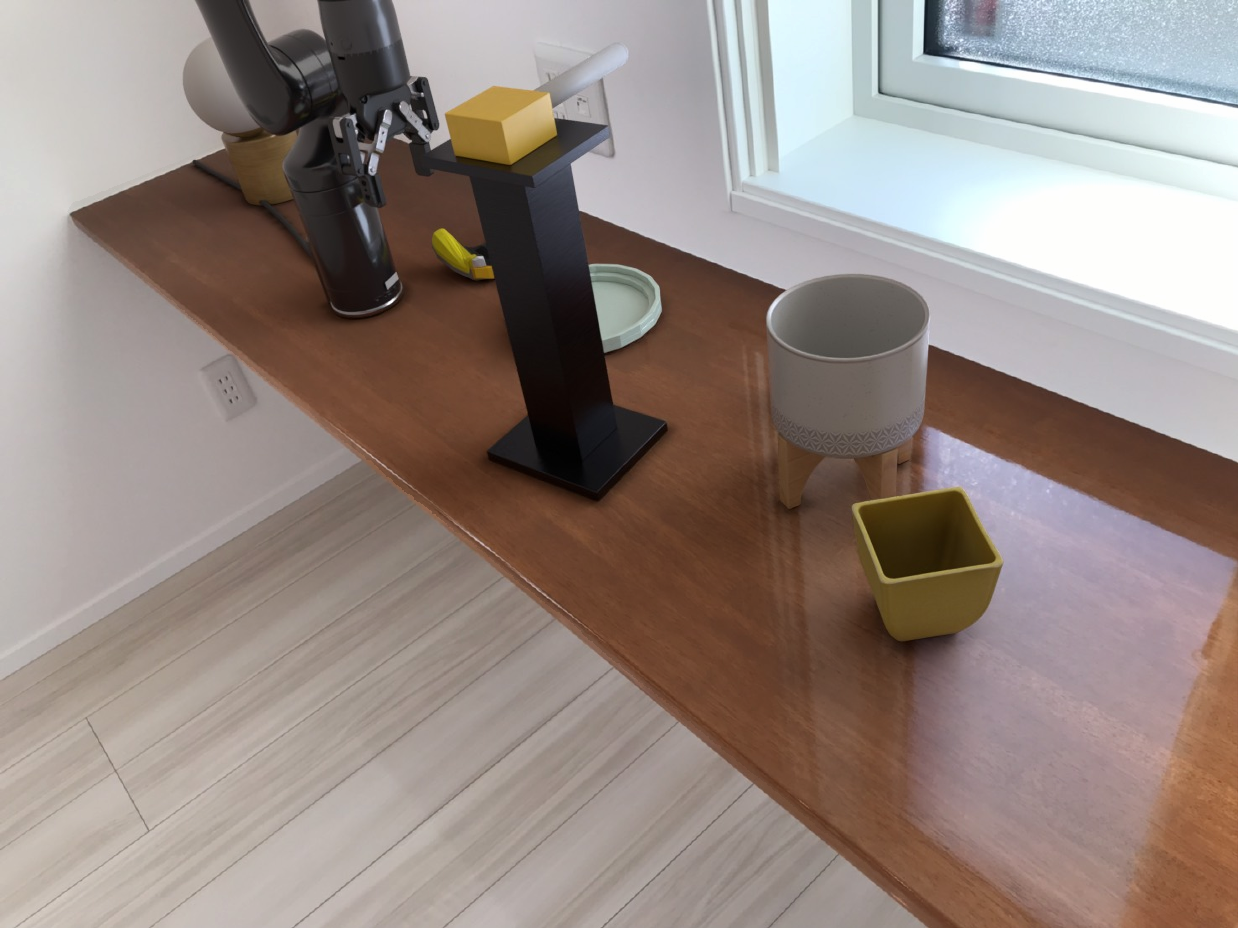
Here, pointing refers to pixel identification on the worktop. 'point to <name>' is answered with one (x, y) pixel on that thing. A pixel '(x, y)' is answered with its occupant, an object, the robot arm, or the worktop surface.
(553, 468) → the stand
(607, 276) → the plate
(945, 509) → the flower pot
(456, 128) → the sponge wand
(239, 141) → the lamp
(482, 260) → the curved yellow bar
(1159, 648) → the worktop surface
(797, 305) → the planter
